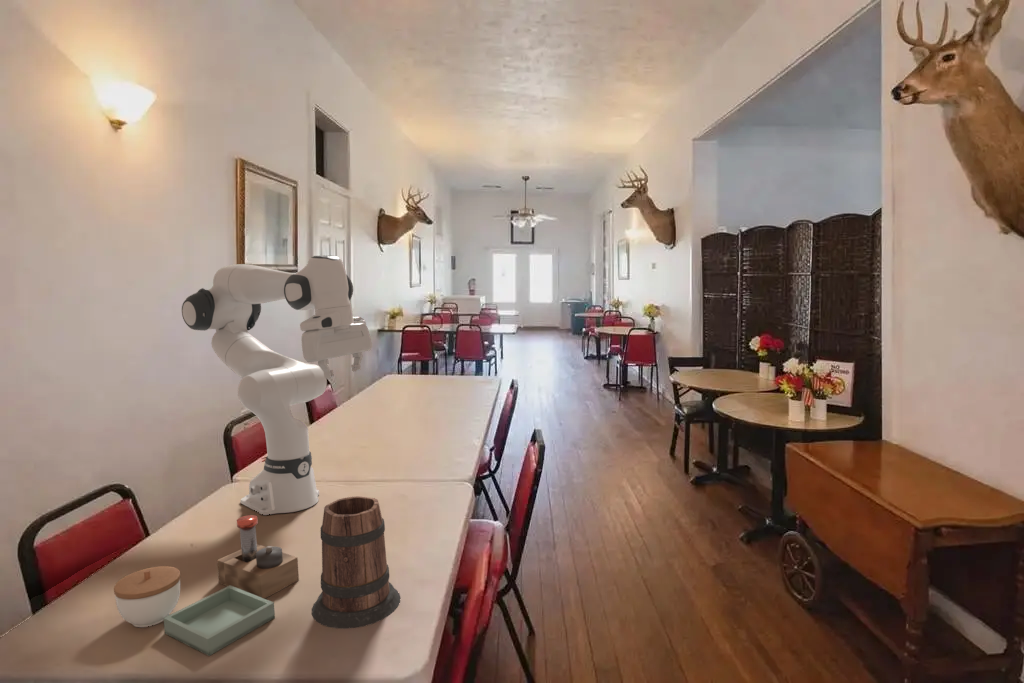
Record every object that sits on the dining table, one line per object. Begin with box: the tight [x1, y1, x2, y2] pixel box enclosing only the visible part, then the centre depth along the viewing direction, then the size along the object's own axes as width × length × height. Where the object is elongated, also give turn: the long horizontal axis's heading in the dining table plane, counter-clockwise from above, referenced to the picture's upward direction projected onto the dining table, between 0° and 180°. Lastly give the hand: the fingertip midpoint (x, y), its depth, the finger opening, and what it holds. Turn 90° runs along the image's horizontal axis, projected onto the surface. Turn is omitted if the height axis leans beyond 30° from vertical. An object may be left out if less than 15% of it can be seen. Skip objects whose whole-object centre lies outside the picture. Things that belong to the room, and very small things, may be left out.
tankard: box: [311, 496, 402, 630], centre depth 121 cm, size 24×17×20 cm
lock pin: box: [236, 514, 259, 563], centre depth 129 cm, size 4×4×13 cm
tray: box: [163, 585, 276, 657], centre depth 112 cm, size 13×13×3 cm
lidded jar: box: [113, 565, 181, 628], centre depth 115 cm, size 11×11×9 cm
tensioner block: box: [216, 543, 300, 599], centre depth 128 cm, size 14×9×8 cm, turn 59°
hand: (343, 374), depth 153 cm, fingers open, 8 cm apart
